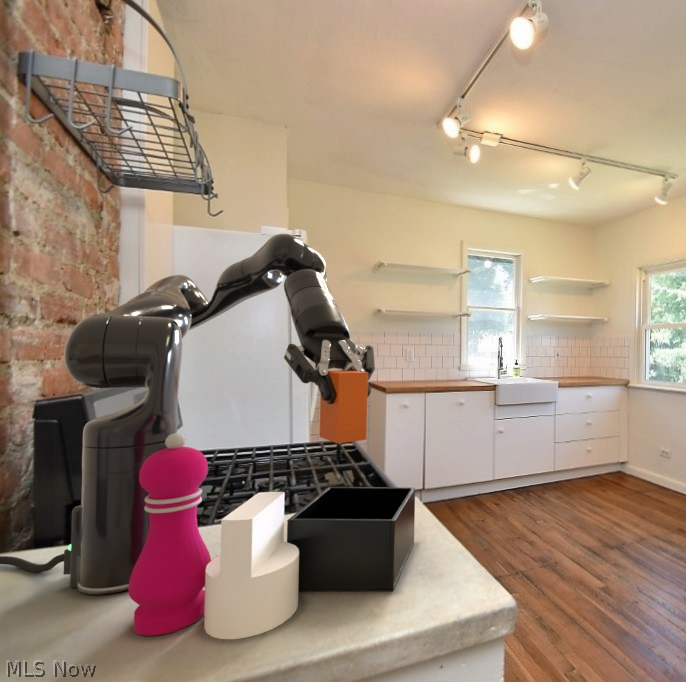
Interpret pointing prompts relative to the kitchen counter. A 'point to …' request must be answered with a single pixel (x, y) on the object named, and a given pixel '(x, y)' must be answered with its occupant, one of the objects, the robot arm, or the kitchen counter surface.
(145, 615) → the pepper mill
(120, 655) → the kitchen counter surface
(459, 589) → the kitchen counter surface
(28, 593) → the kitchen counter surface
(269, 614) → the cylinder with rectangular tab
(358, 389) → the orange rectangular block
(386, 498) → the bin
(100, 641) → the kitchen counter surface
